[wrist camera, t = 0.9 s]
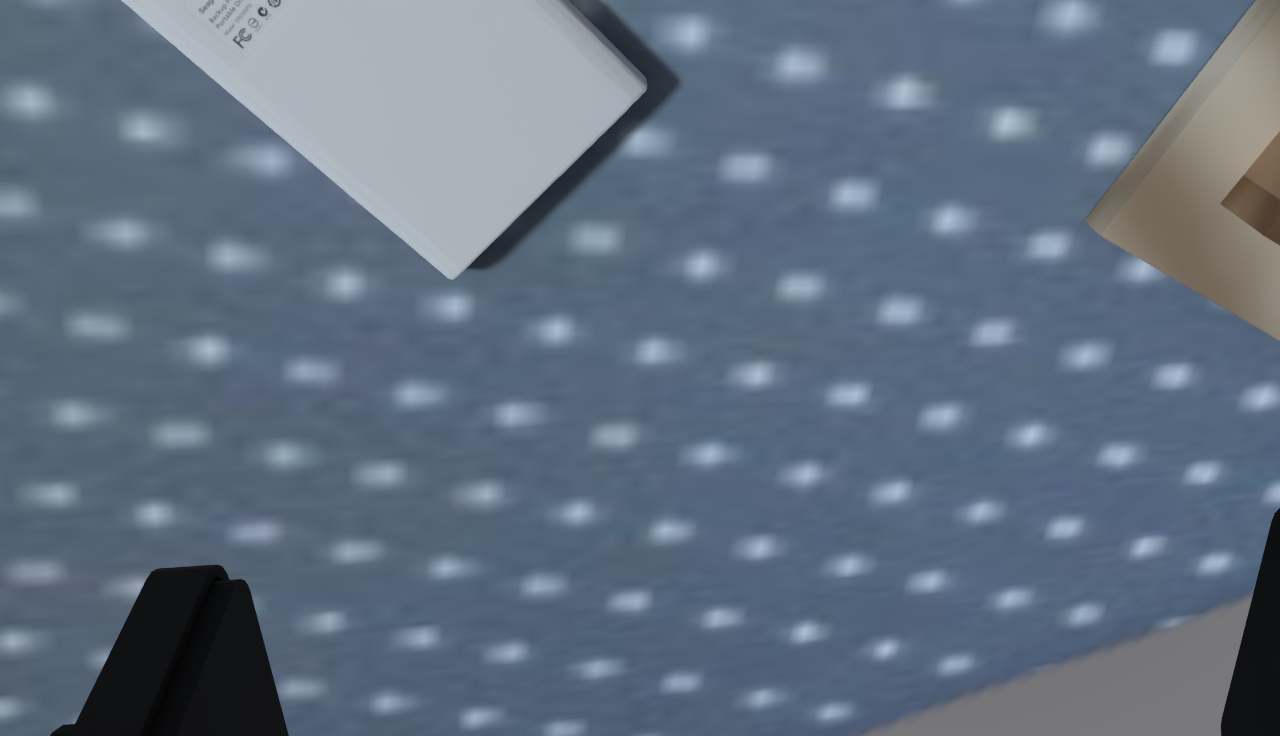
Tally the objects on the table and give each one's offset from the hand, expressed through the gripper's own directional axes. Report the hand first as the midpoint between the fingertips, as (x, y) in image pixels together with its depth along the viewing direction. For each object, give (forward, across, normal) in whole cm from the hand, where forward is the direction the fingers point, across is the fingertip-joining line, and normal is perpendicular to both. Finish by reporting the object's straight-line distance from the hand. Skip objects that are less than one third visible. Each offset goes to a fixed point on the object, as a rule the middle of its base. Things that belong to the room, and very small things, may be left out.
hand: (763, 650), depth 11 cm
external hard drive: (+26, +7, 0) cm, 27 cm away
